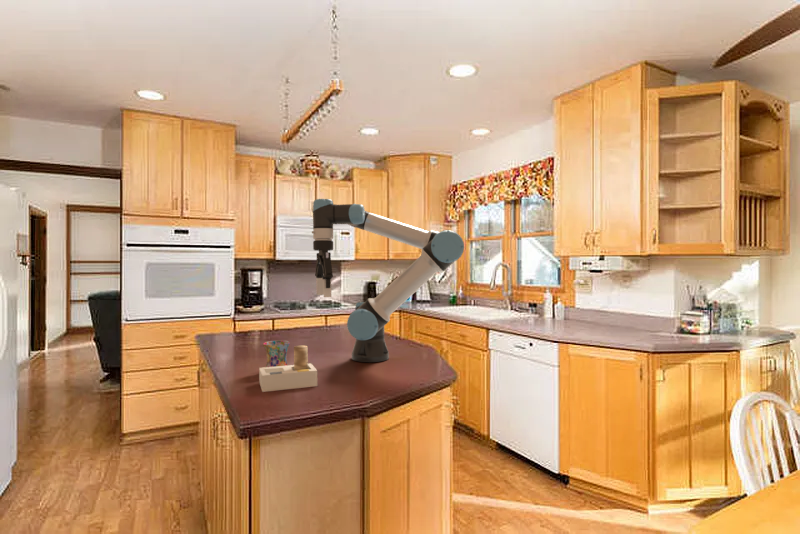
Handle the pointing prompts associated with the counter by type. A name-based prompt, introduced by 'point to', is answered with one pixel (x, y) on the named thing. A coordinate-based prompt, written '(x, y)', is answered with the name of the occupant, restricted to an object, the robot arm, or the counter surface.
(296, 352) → the peg
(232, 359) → the counter surface
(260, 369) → the socket block
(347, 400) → the counter surface
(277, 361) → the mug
